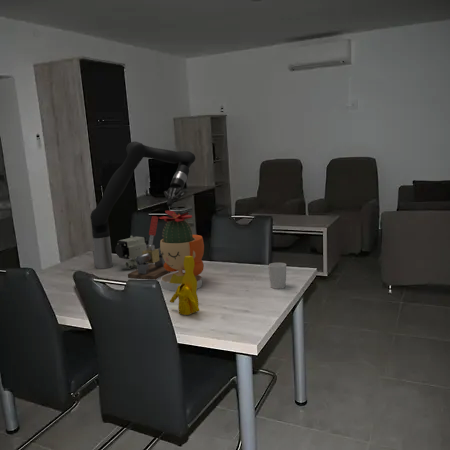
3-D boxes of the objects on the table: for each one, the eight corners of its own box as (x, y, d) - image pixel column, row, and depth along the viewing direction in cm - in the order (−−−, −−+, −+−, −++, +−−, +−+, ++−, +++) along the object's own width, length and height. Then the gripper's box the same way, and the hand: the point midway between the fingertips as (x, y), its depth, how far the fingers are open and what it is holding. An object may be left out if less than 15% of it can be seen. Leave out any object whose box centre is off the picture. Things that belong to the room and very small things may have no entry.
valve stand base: (128, 277, 227) (127, 273, 227) (150, 267, 245) (150, 263, 244) (154, 280, 220) (154, 276, 220) (175, 269, 238) (175, 265, 237)
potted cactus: (183, 293, 196) (177, 215, 190) (152, 285, 211) (145, 212, 205) (217, 281, 212) (212, 208, 206) (185, 274, 227) (180, 206, 221)
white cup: (288, 284, 201) (287, 262, 199) (285, 289, 194) (284, 267, 192) (271, 283, 204) (270, 262, 202) (267, 288, 196) (266, 266, 195)
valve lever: (146, 247, 229) (151, 216, 233) (149, 248, 231) (154, 217, 235) (150, 247, 228) (155, 216, 232) (153, 248, 230) (158, 217, 234)
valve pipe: (135, 274, 224) (133, 249, 222) (158, 264, 242) (156, 241, 240) (145, 275, 222) (143, 249, 220) (167, 265, 240) (165, 241, 237)
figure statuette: (166, 310, 177) (162, 256, 173) (182, 304, 182) (178, 252, 178) (195, 321, 164) (191, 263, 160) (211, 314, 169) (207, 258, 166)
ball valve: (126, 272, 237) (123, 239, 234) (117, 270, 243) (113, 238, 240) (152, 264, 251) (150, 233, 248) (143, 262, 256) (140, 232, 253)
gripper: (165, 177, 254) (155, 201, 245) (186, 176, 249) (176, 201, 240) (171, 185, 260) (161, 209, 251) (191, 185, 254) (181, 209, 245)
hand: (168, 205), depth 245 cm, fingers closed
